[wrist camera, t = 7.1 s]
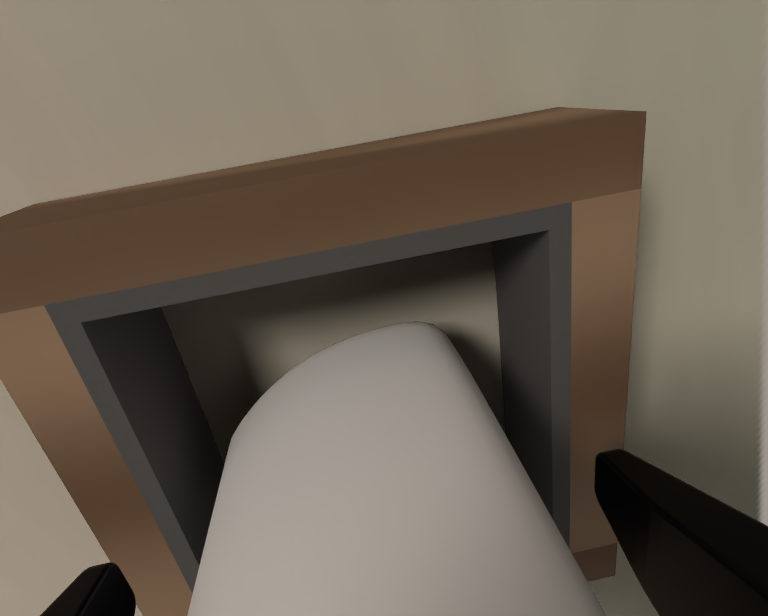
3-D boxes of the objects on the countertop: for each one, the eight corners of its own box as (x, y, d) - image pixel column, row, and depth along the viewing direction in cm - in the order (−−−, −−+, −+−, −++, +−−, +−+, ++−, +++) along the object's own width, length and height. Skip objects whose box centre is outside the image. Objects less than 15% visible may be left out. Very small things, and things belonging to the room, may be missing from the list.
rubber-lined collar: (560, 486, 15) (615, 575, 12) (206, 566, 14) (180, 678, 12) (557, 106, 10) (646, 111, 7) (33, 204, 10) (-78, 247, 7)
